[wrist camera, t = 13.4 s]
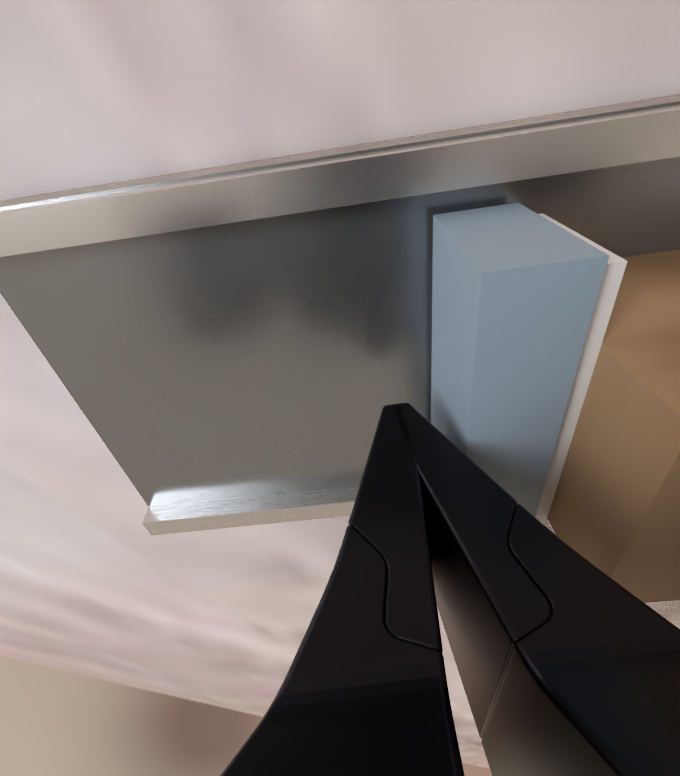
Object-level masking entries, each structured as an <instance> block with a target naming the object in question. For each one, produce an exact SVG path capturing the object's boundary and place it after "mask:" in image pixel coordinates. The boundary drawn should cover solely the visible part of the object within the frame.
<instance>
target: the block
mask: <svg viewBox="0 0 680 776" xmlns="http://www.w3.org/2000/svg"><path fill="white" fill-rule="evenodd" d="M621 258H623V259H625V260H626V261H628V262H627V265H626V268H625V271H624V274H623V278H622V281H621V284H620V287H619V290H618V293H617V297H616V300H615V303H614V306H613V309H612V313H611V316H610V319H609V322H608V325H607V329H606V332H605V335H604V338H603V341H602V344H601V348H600V351H599V354H598V357H597V360H596V364H595V367H594V370H593V373H592V376H591V380H590V383H589V386H588V389H587V392H586V396H585V399H584V402H583V405H582V408H581V412H580V415H579V418H578V421H577V424H576V428H575V431H574V434H573V437H572V440H571V443H570V447H569V450H568V453H567V456H566V459H565V463H564V466H563V469H562V472H561V475H560V479H559V482H558V485H557V488H556V491H555V495H554V498H553V501H552V504H551V507H550V511H549V514H548V517H547V518H548V520H549V522H550V524H551V526H552V527H553V529H554V531H555V533H556V535H557V537H558V538H560V539H561V540H562V541H563V542H565V543H566V544H567V545H568V546H570V547H571V548H572V549H574V550H575V551H576V552H577V553H579V554H580V555H581V556H583V557H584V558H585V559H586V560H588V561H589V562H590V563H592V564H593V565H594V566H596V567H597V568H598V569H600V570H601V571H602V572H604V573H605V574H606V575H608V576H609V577H610V578H612V579H613V580H614V581H616V582H617V583H618V584H620V585H621V586H622V587H624V588H625V589H626V590H628V591H629V592H630V593H632V594H633V595H634V596H636V597H637V598H638V599H640V600H641V601H642V602H644V603H646V602H658V601H670V600H680V250H672V251H665V252H658V253H650V254H643V255H635V256H628V257H621Z"/></svg>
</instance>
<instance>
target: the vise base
mask: <svg viewBox="0 0 680 776" xmlns="http://www.w3.org/2000/svg"><path fill="white" fill-rule="evenodd" d="M512 203H520V204H522V205H523V206H525V207H527V208H529V209H530V210H532V211H534V212H535V213H537V214H542V213H543V214H545V215H547V216H548V217H550V218H552V219H554V220H556V221H557V222H559V223H561V224H563V225H564V226H566V227H568V228H570V229H571V230H573V231H575V232H577V233H579V234H580V235H582V236H584V237H586V238H587V239H589V240H591V241H593V242H594V243H596V244H598V245H600V246H602V247H603V248H605V249H607V250H609V251H610V252H612V253H614V254H616V255H617V256H619V257H628V256H635V255H643V254H650V253H658V252H665V251H672V250H680V94H678V95H672V96H666V97H659V98H653V99H646V100H640V101H634V102H627V103H621V104H615V105H608V106H602V107H595V108H589V109H583V110H576V111H570V112H564V113H557V114H551V115H544V116H538V117H532V118H525V119H519V120H513V121H506V122H500V123H494V124H487V125H481V126H474V127H468V128H462V129H455V130H449V131H443V132H436V133H430V134H423V135H417V136H411V137H404V138H398V139H392V140H385V141H379V142H372V143H366V144H360V145H353V146H347V147H341V148H334V149H328V150H321V151H315V152H309V153H302V154H296V155H290V156H283V157H277V158H270V159H264V160H258V161H251V162H245V163H239V164H232V165H226V166H219V167H213V168H207V169H200V170H194V171H188V172H181V173H175V174H168V175H162V176H156V177H149V178H143V179H137V180H130V181H124V182H117V183H111V184H105V185H98V186H92V187H86V188H79V189H73V190H66V191H60V192H54V193H47V194H41V195H35V196H28V197H22V198H15V199H9V200H3V201H0V293H1V294H2V296H3V297H4V299H5V300H6V302H7V303H8V305H9V306H10V307H11V309H12V310H13V312H14V313H15V315H16V316H17V318H18V319H19V320H20V322H21V323H22V325H23V326H24V328H25V329H26V330H27V332H28V333H29V335H30V336H31V338H32V339H33V341H34V342H35V343H36V345H37V346H38V348H39V349H40V351H41V352H42V354H43V355H44V356H45V358H46V359H47V361H48V362H49V364H50V365H51V367H52V368H53V369H54V371H55V372H56V374H57V375H58V377H59V378H60V379H61V381H62V382H63V384H64V385H65V387H66V388H67V390H68V391H69V392H70V394H71V395H72V397H73V398H74V400H75V401H76V403H77V404H78V405H79V407H80V408H81V410H82V411H83V413H84V414H85V416H86V417H87V418H88V420H89V421H90V423H91V424H92V426H93V427H94V428H95V430H96V431H97V433H98V434H99V436H100V437H101V439H102V440H103V441H104V443H105V444H106V446H107V447H108V449H109V450H110V452H111V453H112V454H113V456H114V457H115V459H116V460H117V462H118V463H119V465H120V466H121V467H122V469H123V470H124V472H125V473H126V475H127V476H128V477H129V479H130V480H131V482H132V483H133V485H134V486H135V488H136V489H137V490H138V492H139V493H140V495H141V496H142V498H143V499H144V501H145V502H146V503H147V505H148V506H149V509H148V511H147V513H146V516H145V518H144V520H143V525H144V526H145V527H146V529H147V530H148V531H149V533H150V534H151V535H159V534H169V533H179V532H189V531H199V530H209V529H219V528H229V527H239V526H249V525H259V524H269V523H279V522H289V521H299V520H309V519H319V518H329V517H339V516H348V515H351V513H352V509H353V506H354V503H355V499H356V496H357V493H358V489H359V486H360V483H361V479H362V476H363V472H364V469H365V466H366V462H367V459H368V456H369V452H370V449H371V445H372V442H373V439H374V435H375V432H376V429H377V425H378V422H379V418H380V415H381V412H382V408H383V407H384V406H385V405H391V404H398V403H409V404H410V405H411V406H412V407H414V408H415V409H416V410H417V411H418V412H419V413H420V414H421V415H422V416H424V417H425V418H426V419H427V420H428V421H429V422H430V423H431V363H432V268H433V215H436V214H443V213H450V212H457V211H464V210H471V209H478V208H485V207H492V206H498V205H505V204H512Z"/></svg>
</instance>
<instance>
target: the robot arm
mask: <svg viewBox="0 0 680 776" xmlns="http://www.w3.org/2000/svg"><path fill="white" fill-rule="evenodd" d="M437 606H438V609H439V612H440V615H441V619H442V622H443V625H444V628H445V631H446V634H447V637H448V640H449V643H450V646H451V649H452V652H453V655H454V659H455V662H456V665H457V668H458V671H459V674H460V677H461V680H462V683H463V686H464V689H465V692H466V695H467V698H468V702H469V705H470V708H471V711H472V714H473V717H474V720H475V723H476V726H477V729H478V732H479V735H480V738H481V739H482V745H483V748H484V751H485V754H486V757H487V760H488V763H489V766H490V769H491V773H492V775H493V776H680V629H679V628H677V627H676V626H674V625H673V624H672V623H670V622H669V621H668V620H666V619H665V618H664V617H662V616H661V615H660V614H658V613H657V612H656V611H654V610H653V609H652V608H650V607H649V606H648V605H646V604H645V603H644V602H642V601H641V600H640V599H638V598H637V597H636V596H634V595H633V594H632V593H630V592H629V591H628V590H626V589H625V588H624V587H622V586H621V585H620V584H618V583H617V582H616V581H614V580H613V579H612V578H610V577H609V576H608V575H606V574H605V573H604V572H602V571H601V570H600V569H598V568H597V567H596V566H594V565H593V564H592V563H590V562H589V561H588V560H586V559H585V558H584V557H583V556H581V555H580V554H579V553H577V552H576V551H575V550H574V549H572V548H571V547H570V546H568V545H567V544H566V543H565V542H563V541H562V540H561V539H560V538H558V537H557V536H556V535H555V534H554V533H553V532H551V531H550V530H549V529H548V528H547V527H546V526H545V525H543V524H542V523H541V522H540V521H539V520H538V519H536V518H535V517H534V516H533V515H532V514H531V513H530V512H529V511H527V510H526V509H525V508H524V507H523V506H522V505H521V504H517V501H516V500H515V499H514V498H513V497H512V496H511V495H510V494H509V493H507V492H506V491H505V490H504V489H503V488H502V487H501V486H500V485H499V484H498V483H496V482H495V481H494V480H493V479H492V478H491V477H490V476H489V475H488V474H486V473H485V472H484V471H483V470H482V469H481V468H480V467H479V466H478V465H477V464H475V463H474V462H473V461H472V460H471V459H470V458H469V457H468V456H467V455H465V454H464V453H463V452H462V451H461V450H460V449H459V448H458V447H457V446H456V445H454V444H453V443H452V442H451V441H450V440H449V439H448V438H447V437H446V436H445V435H443V434H442V433H441V432H440V431H439V430H438V429H437V428H436V427H435V426H433V425H432V424H431V423H430V422H429V421H428V420H427V419H426V418H425V417H424V416H422V415H421V414H420V413H419V412H418V411H417V410H416V409H415V408H414V407H412V406H411V405H410V404H409V403H398V404H391V405H385V406H384V407H383V408H382V412H381V415H380V418H379V422H378V425H377V429H376V432H375V435H374V439H373V442H372V445H371V449H370V452H369V456H368V459H367V462H366V466H365V469H364V472H363V476H362V479H361V483H360V486H359V489H358V493H357V496H356V499H355V503H354V506H353V509H352V513H351V516H350V520H349V526H348V527H347V529H346V532H345V536H344V539H343V542H342V545H341V548H340V551H339V554H338V557H337V560H336V563H335V566H334V569H333V571H332V574H331V576H330V579H329V581H328V584H327V586H326V589H325V591H324V593H323V596H322V598H321V600H320V603H319V605H318V607H317V609H316V611H315V614H314V616H313V618H312V620H311V623H310V625H309V627H308V629H307V631H306V634H305V636H304V638H303V640H302V642H301V645H300V647H299V649H298V651H297V654H296V656H295V658H294V660H293V662H292V665H291V667H290V669H289V671H288V673H287V675H286V677H285V680H284V682H283V684H282V686H281V687H280V689H279V691H278V693H277V695H276V697H275V699H274V701H273V702H272V704H271V706H270V707H269V709H268V711H267V712H266V714H265V715H264V717H263V719H262V720H261V722H260V723H259V724H258V726H257V727H256V728H255V730H254V731H253V732H252V734H251V735H250V736H249V738H248V739H247V740H246V742H245V743H244V744H243V746H242V747H241V748H240V750H239V751H238V753H237V754H236V755H235V756H234V758H233V759H232V760H231V761H230V763H229V764H228V765H227V767H226V768H225V769H224V771H223V772H222V773H221V775H220V776H464V771H463V766H462V761H461V756H460V751H459V746H458V741H457V736H456V731H455V726H454V721H453V716H452V710H451V705H450V699H449V693H448V686H447V680H446V673H445V666H444V658H443V655H442V642H441V634H440V627H439V619H438V611H437Z"/></svg>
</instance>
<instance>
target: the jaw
mask: <svg viewBox="0 0 680 776" xmlns="http://www.w3.org/2000/svg"><path fill="white" fill-rule="evenodd" d="M627 262H628V261H626V260H625V259H623V258H621V257H619V256H617V255H616V254H614V253H612V252H610V251H609V250H607V249H605V248H603V247H602V246H600V245H598V244H596V243H594V242H593V241H591V240H589V239H587V238H586V237H584V236H582V235H580V234H579V233H577V232H575V231H573V230H571V229H570V228H568V227H566V226H564V225H563V224H561V223H559V222H557V221H556V220H554V219H552V218H550V217H548V216H547V215H545V214H543V213H542V214H537V213H535V212H534V211H532V210H530V209H529V208H527V207H525V206H523V205H522V204H520V203H512V204H505V205H498V206H492V207H485V208H478V209H471V210H464V211H457V212H450V213H443V214H436V215H433V268H432V363H431V424H432V425H433V426H435V427H436V428H437V429H438V430H439V431H440V432H441V433H442V434H443V435H445V436H446V437H447V438H448V439H449V440H450V441H451V442H452V443H453V444H454V445H456V446H457V447H458V448H459V449H460V450H461V451H462V452H463V453H464V454H465V455H467V456H468V457H469V458H470V459H471V460H472V461H473V462H474V463H475V464H477V465H478V466H479V467H480V468H481V469H482V470H483V471H484V472H485V473H486V474H488V475H489V476H490V477H491V478H492V479H493V480H494V481H495V482H496V483H498V484H499V485H500V486H501V487H502V488H503V489H504V490H505V491H506V492H507V493H509V494H510V495H511V496H512V497H513V498H514V499H515V500H516V501H517V504H521V505H522V506H523V507H524V508H525V509H526V510H527V511H529V512H530V513H531V514H532V515H533V516H534V517H535V518H536V519H538V520H539V521H540V522H541V523H542V524H543V525H545V524H546V520H547V517H548V514H549V511H550V507H551V504H552V501H553V498H554V495H555V491H556V488H557V485H558V482H559V479H560V475H561V472H562V469H563V466H564V463H565V459H566V456H567V453H568V450H569V447H570V443H571V440H572V437H573V434H574V431H575V428H576V424H577V421H578V418H579V415H580V412H581V408H582V405H583V402H584V399H585V396H586V392H587V389H588V386H589V383H590V380H591V376H592V373H593V370H594V367H595V364H596V360H597V357H598V354H599V351H600V348H601V344H602V341H603V338H604V335H605V332H606V329H607V325H608V322H609V319H610V316H611V313H612V309H613V306H614V303H615V300H616V297H617V293H618V290H619V287H620V284H621V281H622V278H623V274H624V271H625V268H626V265H627Z"/></svg>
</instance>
